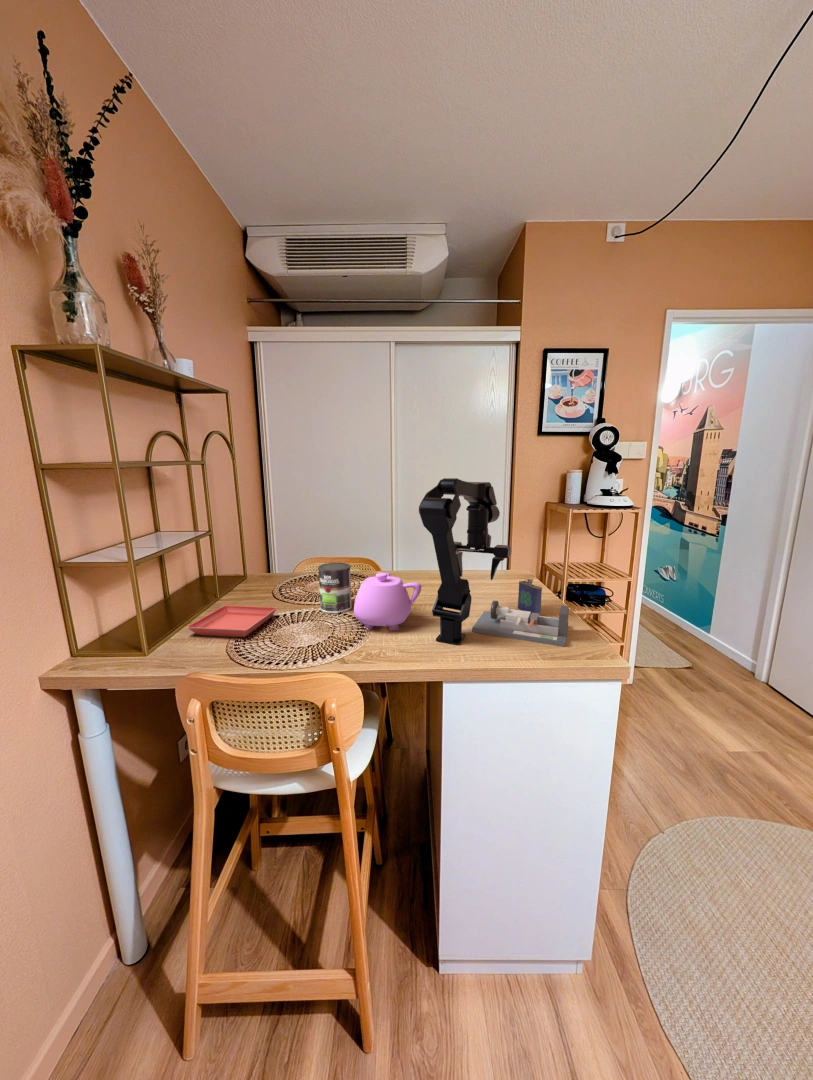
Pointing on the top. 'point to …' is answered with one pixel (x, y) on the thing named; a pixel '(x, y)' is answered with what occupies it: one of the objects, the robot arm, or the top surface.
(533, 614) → the marker
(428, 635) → the top surface
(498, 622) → the gauge bench
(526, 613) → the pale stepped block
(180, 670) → the top surface
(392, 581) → the teapot
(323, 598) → the coffee can
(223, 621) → the plant saucer
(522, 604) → the flask
